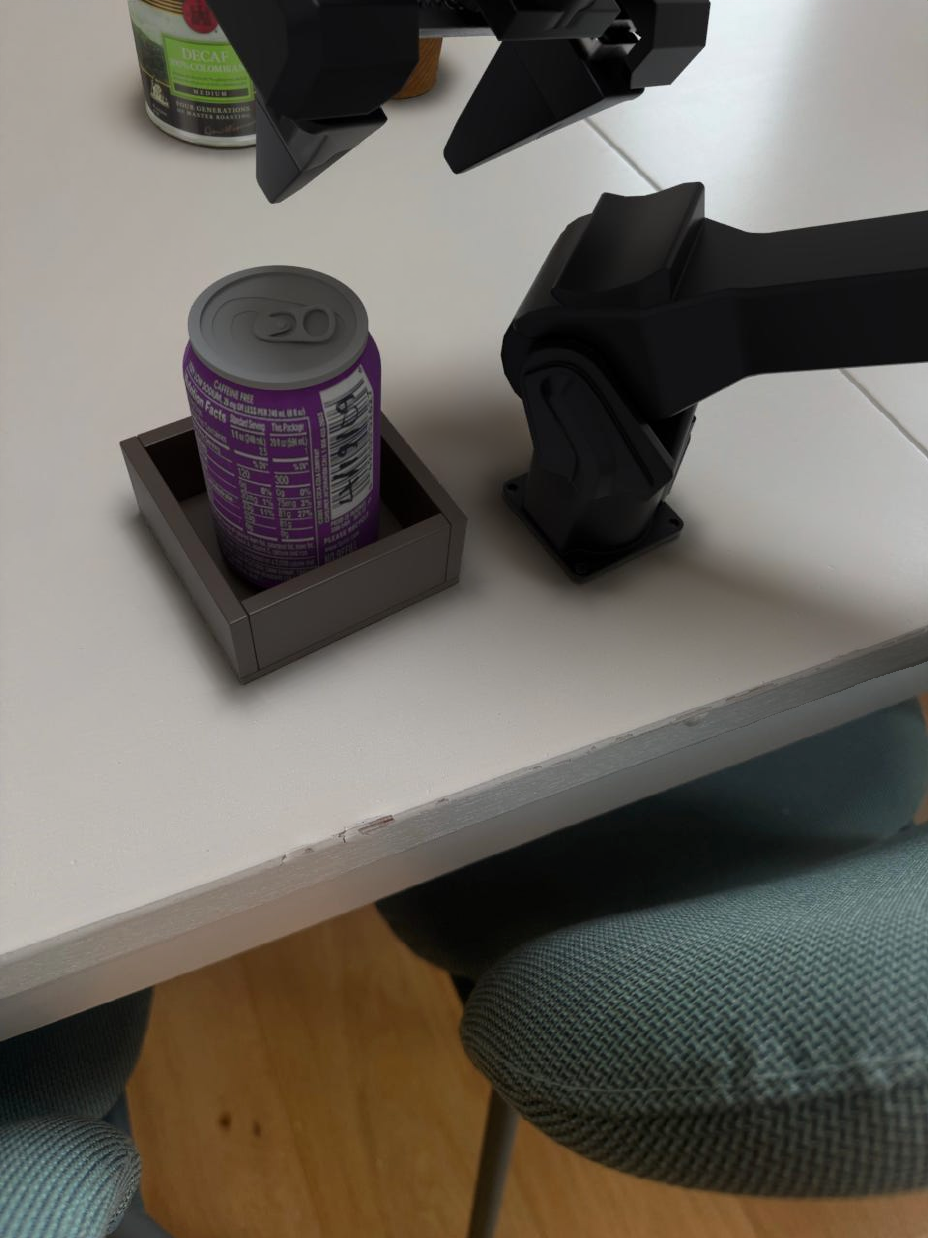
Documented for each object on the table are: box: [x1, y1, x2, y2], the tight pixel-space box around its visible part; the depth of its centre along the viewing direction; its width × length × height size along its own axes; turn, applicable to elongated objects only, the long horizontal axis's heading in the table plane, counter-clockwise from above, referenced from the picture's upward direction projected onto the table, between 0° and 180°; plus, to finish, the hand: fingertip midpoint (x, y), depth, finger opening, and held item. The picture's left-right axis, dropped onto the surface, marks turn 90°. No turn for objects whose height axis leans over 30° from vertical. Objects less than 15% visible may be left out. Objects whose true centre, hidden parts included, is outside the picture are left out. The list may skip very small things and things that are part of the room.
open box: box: [118, 410, 469, 685], centre depth 41 cm, size 11×11×4 cm
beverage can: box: [181, 264, 382, 589], centre depth 38 cm, size 7×7×12 cm
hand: (366, 176), depth 36 cm, fingers open, 9 cm apart
